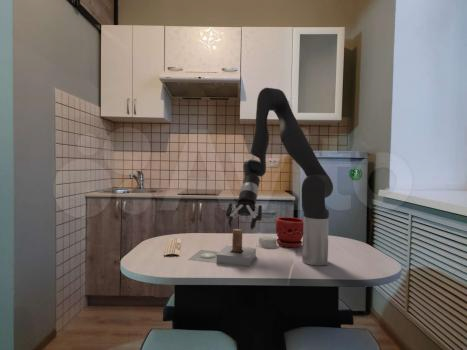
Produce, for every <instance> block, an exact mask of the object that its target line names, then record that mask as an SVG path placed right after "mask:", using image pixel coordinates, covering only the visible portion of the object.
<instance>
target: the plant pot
mask: <svg viewBox="0 0 467 350" xmlns="http://www.w3.org/2000/svg"><path fill="white" fill-rule="evenodd" d="M275 231H276V236H277V238H276V244H278V245H279V246H282V247H286V248H298V247H301V245H303V219H302V218H297V217H288V216H287V217H286V216H282V217H277V218H276V220H275Z"/></svg>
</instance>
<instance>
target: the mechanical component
mask: <svg viewBox="0 0 467 350" xmlns="http://www.w3.org/2000/svg"><path fill="white" fill-rule="evenodd" d="M276 240H277V238H276V237H274V236H267V235H266V236H260V237H258V242H257V243H256V245H255V246H256V247H258V248H261V249H262V248H263V249H279V247H280V245H279V244H278V243H277V241H276Z"/></svg>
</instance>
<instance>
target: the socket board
mask: <svg viewBox="0 0 467 350" xmlns="http://www.w3.org/2000/svg"><path fill="white" fill-rule="evenodd" d="M256 257H257V248H254V247H244V246H242V254H240V253H232V245H225V246H224V247H222V249H221V250H220V251H215V250H207V249H205V250H204V249H200V250H198V251H197V252H196V253H195V254H193V255H192V256H191V257H189V258H188V259H187V260H188V261H194V262H195V261H197V262H204V263H211V264H220V265H228V266H237V267H244V268H249V267H250V266H251V265H252V263H253V261H254V260H255V259H256Z"/></svg>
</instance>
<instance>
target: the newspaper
mask: <svg viewBox="0 0 467 350" xmlns="http://www.w3.org/2000/svg"><path fill="white" fill-rule="evenodd" d="M181 244H182V239H181V238H178V237H174V238H173V237H172V238H169V239H168V241H167V243H166V247H165V251H164V255H163V256H164V257H166V256H167V255H177V256H178V257H180V253H181V246H182V245H181Z"/></svg>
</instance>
